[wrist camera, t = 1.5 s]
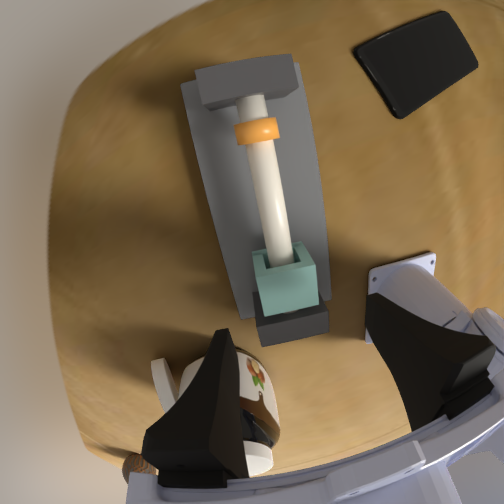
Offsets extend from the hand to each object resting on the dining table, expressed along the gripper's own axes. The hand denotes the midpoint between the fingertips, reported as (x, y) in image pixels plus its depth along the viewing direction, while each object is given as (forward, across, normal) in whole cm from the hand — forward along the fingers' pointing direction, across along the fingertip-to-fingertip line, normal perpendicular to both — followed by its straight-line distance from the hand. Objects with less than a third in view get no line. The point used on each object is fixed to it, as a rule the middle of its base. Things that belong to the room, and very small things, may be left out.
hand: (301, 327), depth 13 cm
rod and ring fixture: (+10, 0, -4) cm, 10 cm away
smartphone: (+10, -17, -15) cm, 25 cm away
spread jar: (+10, +9, +13) cm, 18 cm away
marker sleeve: (+7, 0, 0) cm, 7 cm away
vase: (+10, +33, +40) cm, 53 cm away
